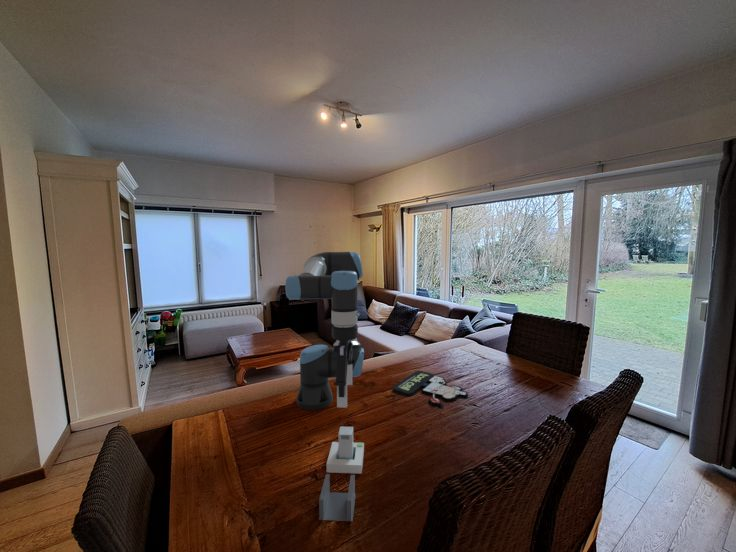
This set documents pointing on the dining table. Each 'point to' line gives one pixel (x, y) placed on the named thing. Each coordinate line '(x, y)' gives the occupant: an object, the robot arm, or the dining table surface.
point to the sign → (429, 388)
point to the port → (345, 460)
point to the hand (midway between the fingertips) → (345, 394)
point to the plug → (346, 443)
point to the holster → (337, 502)
